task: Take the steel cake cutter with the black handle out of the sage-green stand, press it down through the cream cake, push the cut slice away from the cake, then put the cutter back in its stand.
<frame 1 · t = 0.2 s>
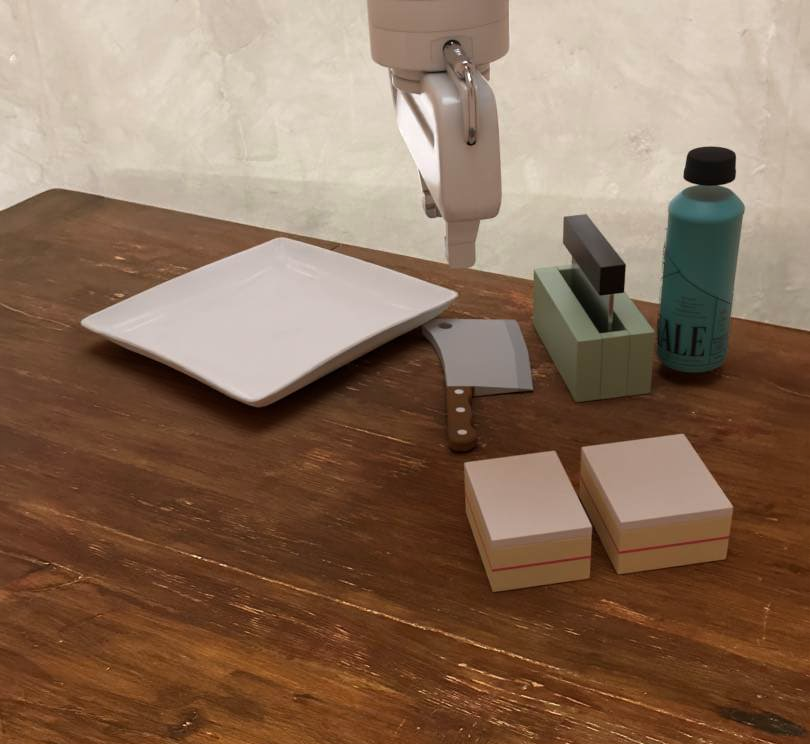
hand: (447, 238, 78), 20 cm above the table, tool pointing down, fingers open, 8 cm apart
cake slice: (525, 544, 83), on the table
cake cutter: (590, 300, 102), in the cutter stand
square plate: (273, 340, 113), on the table
cake: (649, 526, 84), on the table
kitchen cleaver: (478, 384, 103), on the table
cutter stand: (588, 357, 106), on the table
beverage bottle: (688, 373, 102), on the table
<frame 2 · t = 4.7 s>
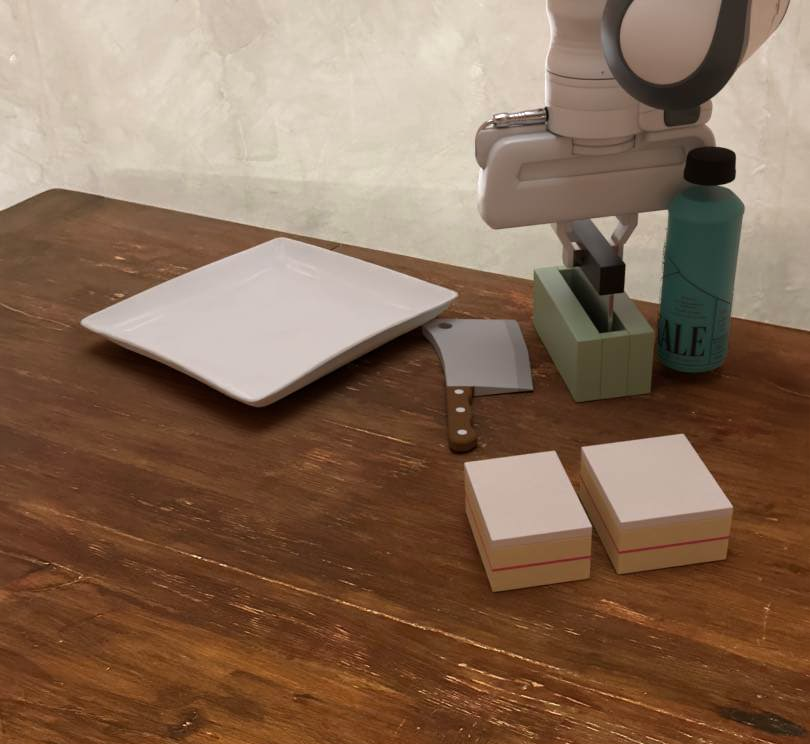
hand: (592, 262, 100), 9 cm above the table, tool pointing down, fingers closed on cake cutter, 2 cm apart
cake cutter: (590, 300, 102), in the cutter stand, touching gripper
everything else where it was.
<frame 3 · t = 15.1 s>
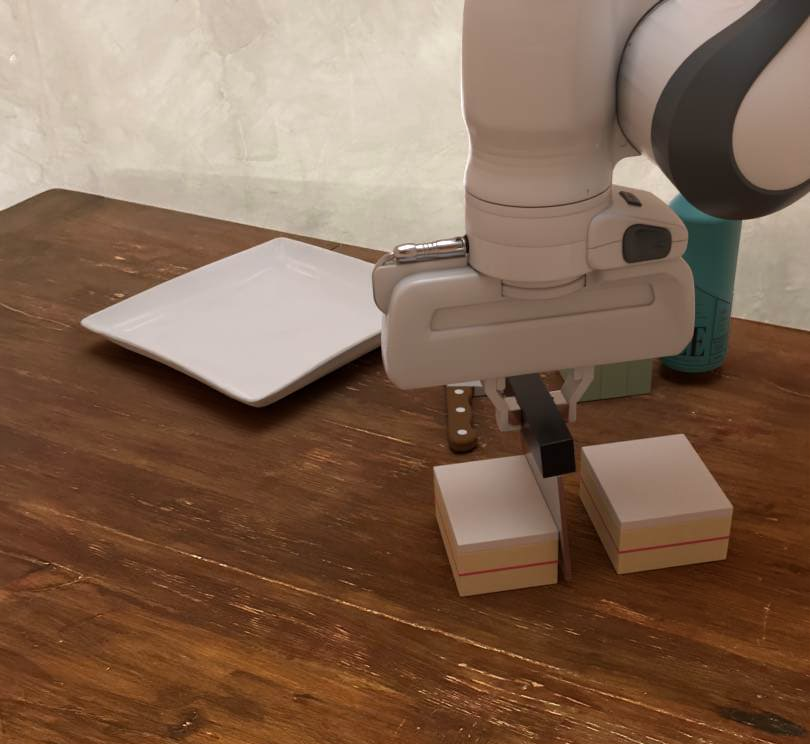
hand: (535, 423, 77), 10 cm above the table, tool pointing down, fingers closed on cake cutter, 2 cm apart
cake slice: (493, 548, 83), on the table, touching cake cutter
cake cutter: (541, 467, 79), point 7 cm above the table, tilted 6°, touching cake slice, gripper
everything else where it was.
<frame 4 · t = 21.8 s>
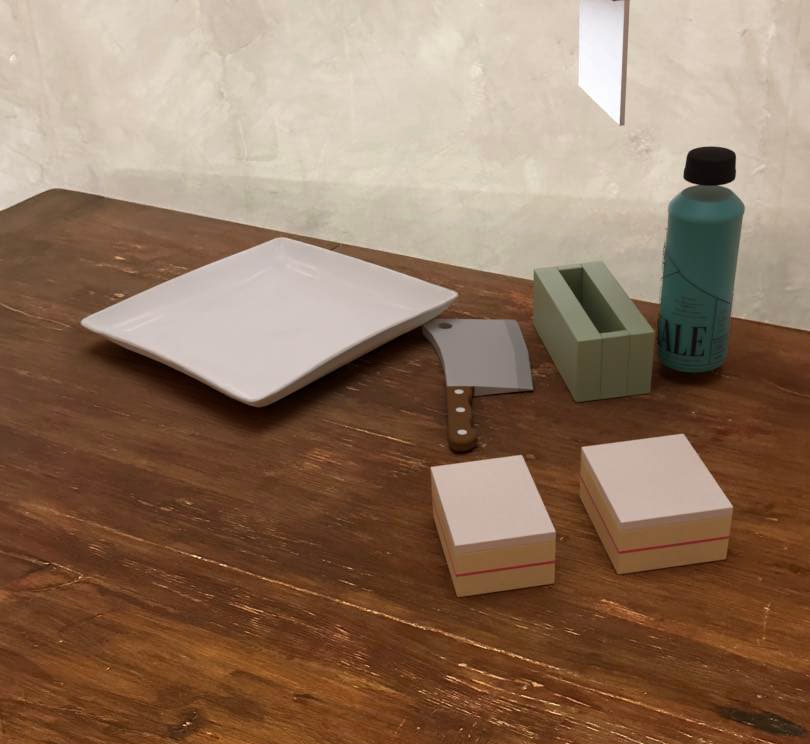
cake slice: (491, 548, 83), on the table
cake cutter: (602, 28, 89), point 29 cm above the table, touching gripper
everything else where it was.
when the fingers open (10 cm above the table, at t = 28.1 s): cake cutter stays where it is, resting in cutter stand.
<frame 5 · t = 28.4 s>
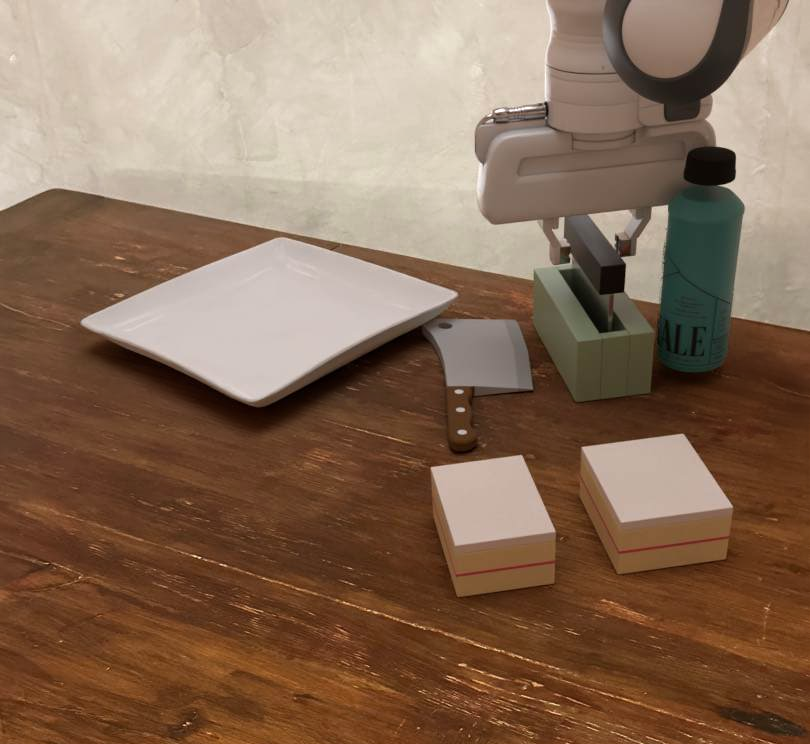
hand: (592, 258, 100), 10 cm above the table, tool pointing down, fingers open, 5 cm apart
cake cutter: (590, 299, 102), in the cutter stand
everything else where it was.
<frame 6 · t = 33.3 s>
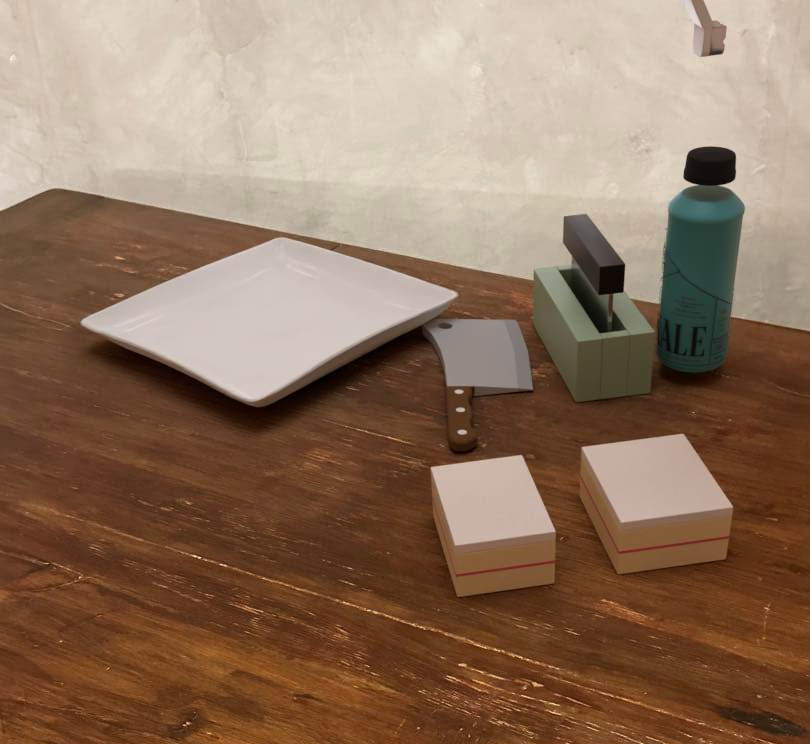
hand: (778, 47, 72), 31 cm above the table, tool pointing down, fingers open, 8 cm apart
nothing on the table moved.
at the end: cake slice 2.2 cm from the target spot on the table beside the cake, on the table; cake slice tilted 0°; cake cutter 0.1 cm off-centre on the cutter stand, point 5.8 cm above the cutter stand's base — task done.
